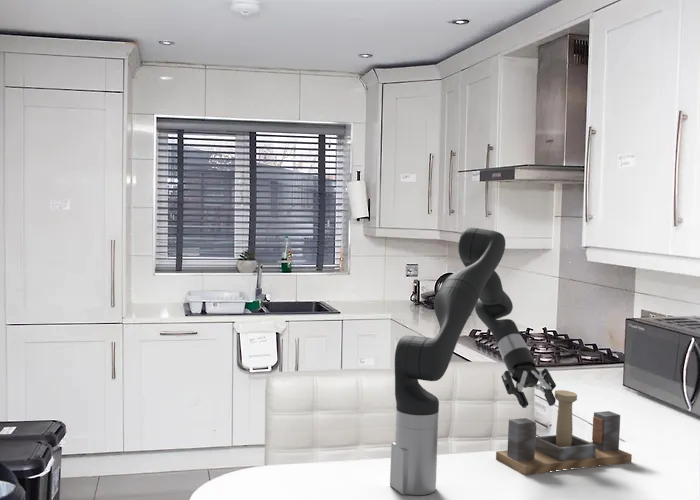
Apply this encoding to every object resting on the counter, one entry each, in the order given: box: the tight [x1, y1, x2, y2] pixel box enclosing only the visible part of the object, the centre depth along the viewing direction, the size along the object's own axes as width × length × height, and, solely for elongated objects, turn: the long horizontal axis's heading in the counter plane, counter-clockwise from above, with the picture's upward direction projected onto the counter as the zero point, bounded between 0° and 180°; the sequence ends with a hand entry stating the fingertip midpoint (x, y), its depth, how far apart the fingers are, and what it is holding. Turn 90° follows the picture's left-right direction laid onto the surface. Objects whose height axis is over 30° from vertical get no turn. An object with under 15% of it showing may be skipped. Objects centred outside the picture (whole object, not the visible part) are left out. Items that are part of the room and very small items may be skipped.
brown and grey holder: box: [495, 410, 633, 476], centre depth 184 cm, size 32×12×11 cm, turn 112°
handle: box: [554, 389, 578, 447], centre depth 184 cm, size 5×6×15 cm
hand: (539, 405), depth 194 cm, fingers open, 8 cm apart
